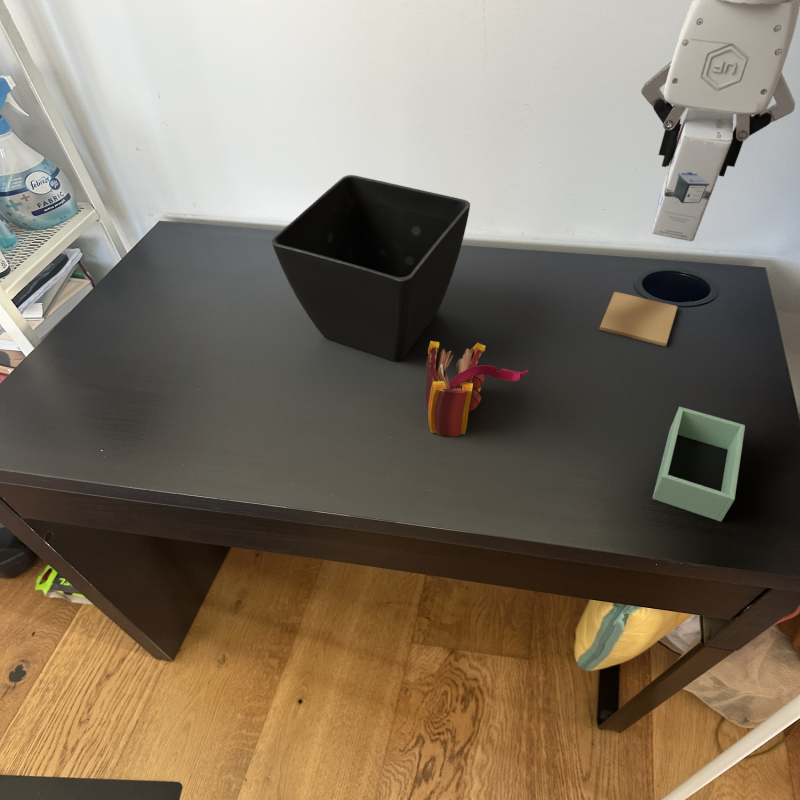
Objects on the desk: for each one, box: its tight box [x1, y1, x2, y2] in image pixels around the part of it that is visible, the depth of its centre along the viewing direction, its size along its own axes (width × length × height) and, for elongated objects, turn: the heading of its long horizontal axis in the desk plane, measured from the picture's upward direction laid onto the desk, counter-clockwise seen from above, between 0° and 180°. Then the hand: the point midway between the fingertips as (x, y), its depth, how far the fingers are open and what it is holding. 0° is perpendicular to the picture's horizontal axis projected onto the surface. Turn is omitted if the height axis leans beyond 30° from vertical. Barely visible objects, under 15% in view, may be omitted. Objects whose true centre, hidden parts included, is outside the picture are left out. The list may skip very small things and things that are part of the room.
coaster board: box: [599, 291, 679, 347], centre depth 89 cm, size 9×9×1 cm
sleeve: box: [652, 406, 746, 522], centre depth 68 cm, size 7×11×4 cm, turn 154°
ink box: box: [651, 108, 734, 242], centre depth 71 cm, size 9×5×12 cm, turn 159°
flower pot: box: [271, 174, 471, 362], centre depth 84 cm, size 19×19×17 cm
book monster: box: [425, 340, 529, 438], centre depth 73 cm, size 11×9×12 cm
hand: (694, 164), depth 70 cm, fingers closed on ink box, 5 cm apart
